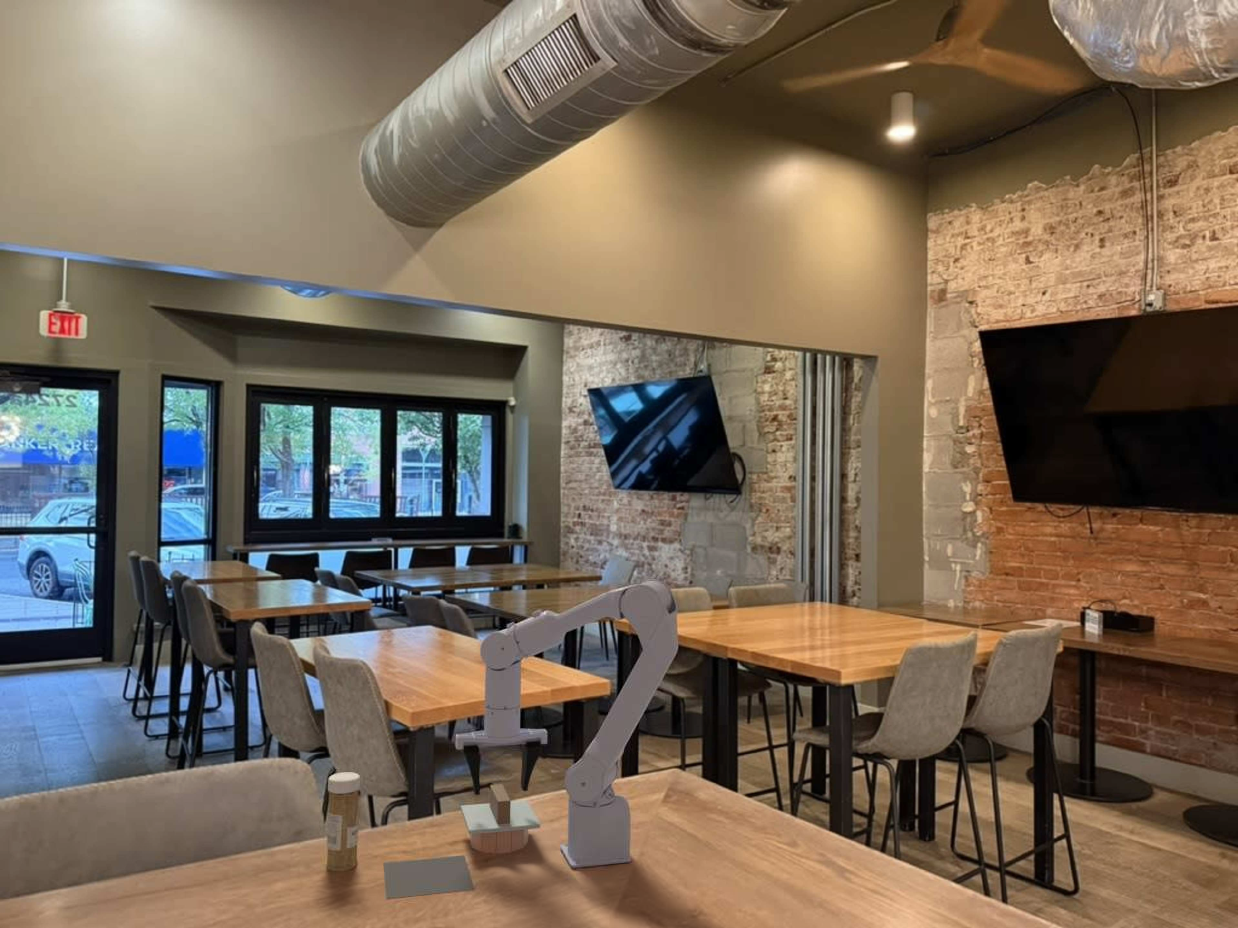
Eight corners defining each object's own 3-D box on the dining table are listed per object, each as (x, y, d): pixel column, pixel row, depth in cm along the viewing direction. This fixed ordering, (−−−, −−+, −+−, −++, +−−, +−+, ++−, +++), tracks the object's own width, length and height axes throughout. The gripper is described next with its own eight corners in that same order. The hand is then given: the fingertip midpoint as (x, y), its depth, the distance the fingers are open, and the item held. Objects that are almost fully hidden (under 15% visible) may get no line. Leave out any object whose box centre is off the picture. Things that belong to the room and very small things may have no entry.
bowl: (521, 830, 147) (522, 806, 147) (532, 852, 138) (532, 826, 138) (467, 835, 144) (467, 811, 144) (474, 857, 136) (475, 831, 136)
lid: (526, 803, 148) (527, 779, 148) (540, 827, 138) (540, 801, 138) (460, 809, 145) (461, 783, 145) (469, 834, 135) (470, 807, 135)
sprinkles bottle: (361, 869, 131) (364, 777, 131) (330, 876, 128) (333, 782, 129) (352, 858, 135) (355, 769, 135) (321, 864, 132) (324, 773, 133)
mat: (464, 857, 136) (464, 854, 136) (474, 891, 124) (474, 889, 124) (383, 865, 132) (383, 862, 132) (386, 901, 121) (386, 898, 121)
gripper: (541, 697, 148) (540, 779, 147) (454, 701, 144) (452, 786, 143) (550, 707, 141) (549, 793, 141) (459, 712, 137) (457, 800, 136)
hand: (500, 790), depth 141 cm, fingers open, 7 cm apart
